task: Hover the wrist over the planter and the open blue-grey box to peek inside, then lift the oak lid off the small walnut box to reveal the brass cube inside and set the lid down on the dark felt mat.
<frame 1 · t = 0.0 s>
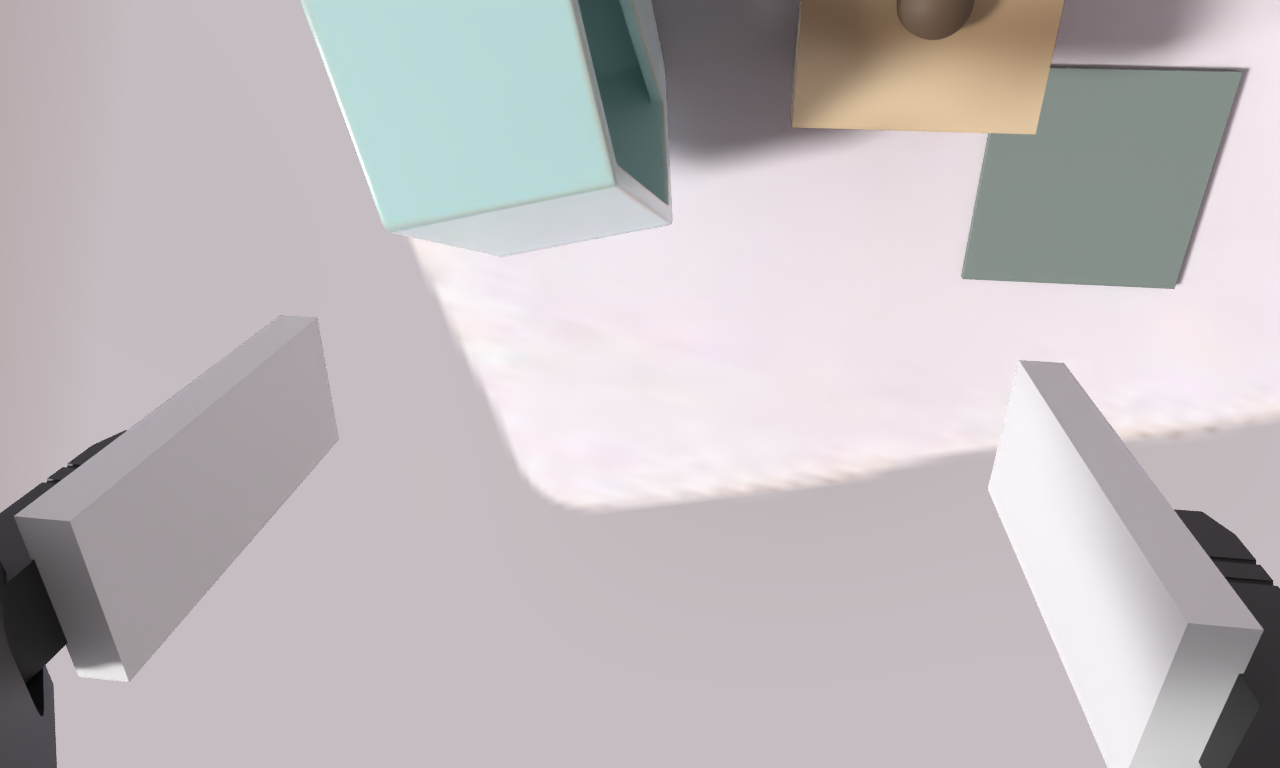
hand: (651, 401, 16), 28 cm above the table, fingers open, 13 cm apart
felt mat: (1089, 180, 40), on the table
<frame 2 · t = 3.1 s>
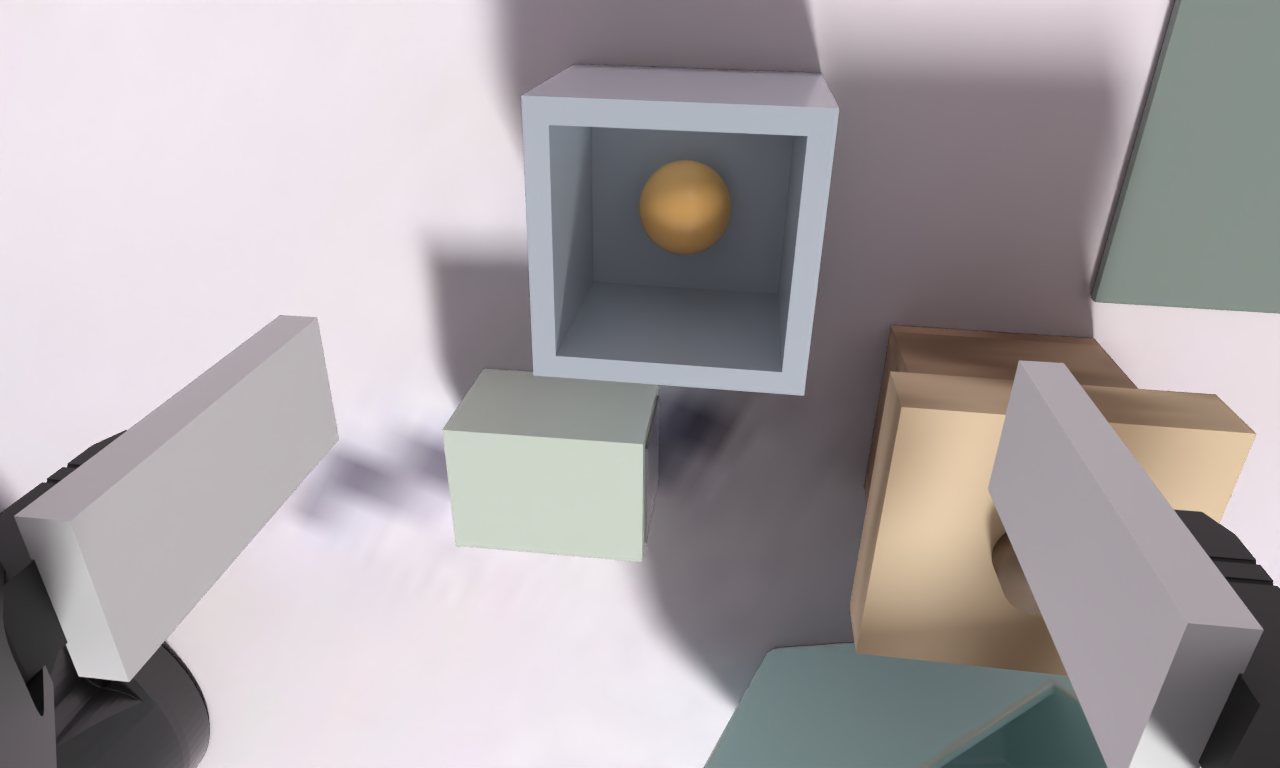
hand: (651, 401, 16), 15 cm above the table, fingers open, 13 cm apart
lid: (1014, 510, 26), point 6 cm above the table, touching walnut box
blue-grey box: (690, 190, 29), on the table
planter: (905, 697, 39), on the table
walnut box: (971, 417, 32), on the table
pale green block: (572, 427, 34), on the table
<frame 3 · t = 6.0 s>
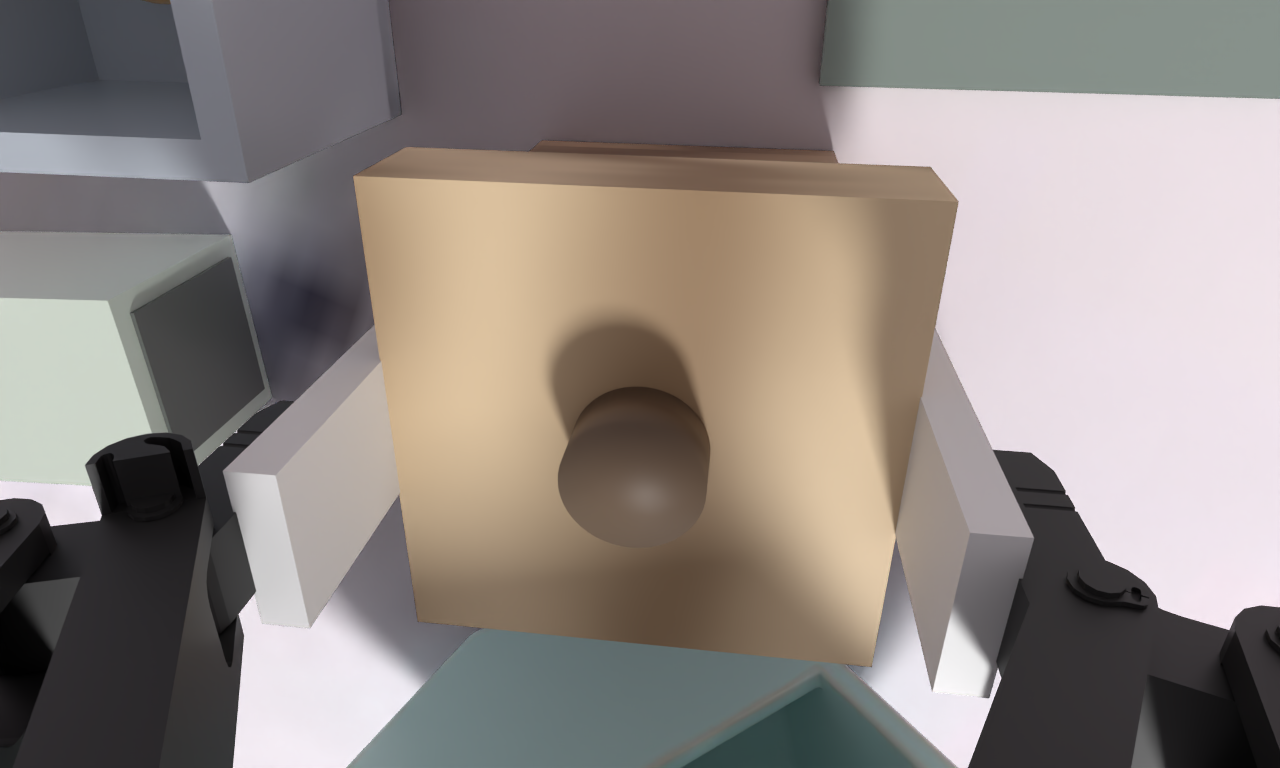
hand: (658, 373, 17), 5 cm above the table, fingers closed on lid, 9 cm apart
lid: (654, 389, 16), point 6 cm above the table, touching gripper, walnut box
planter: (666, 693, 29), on the table
walnut box: (680, 283, 22), on the table
pale green block: (142, 315, 24), on the table
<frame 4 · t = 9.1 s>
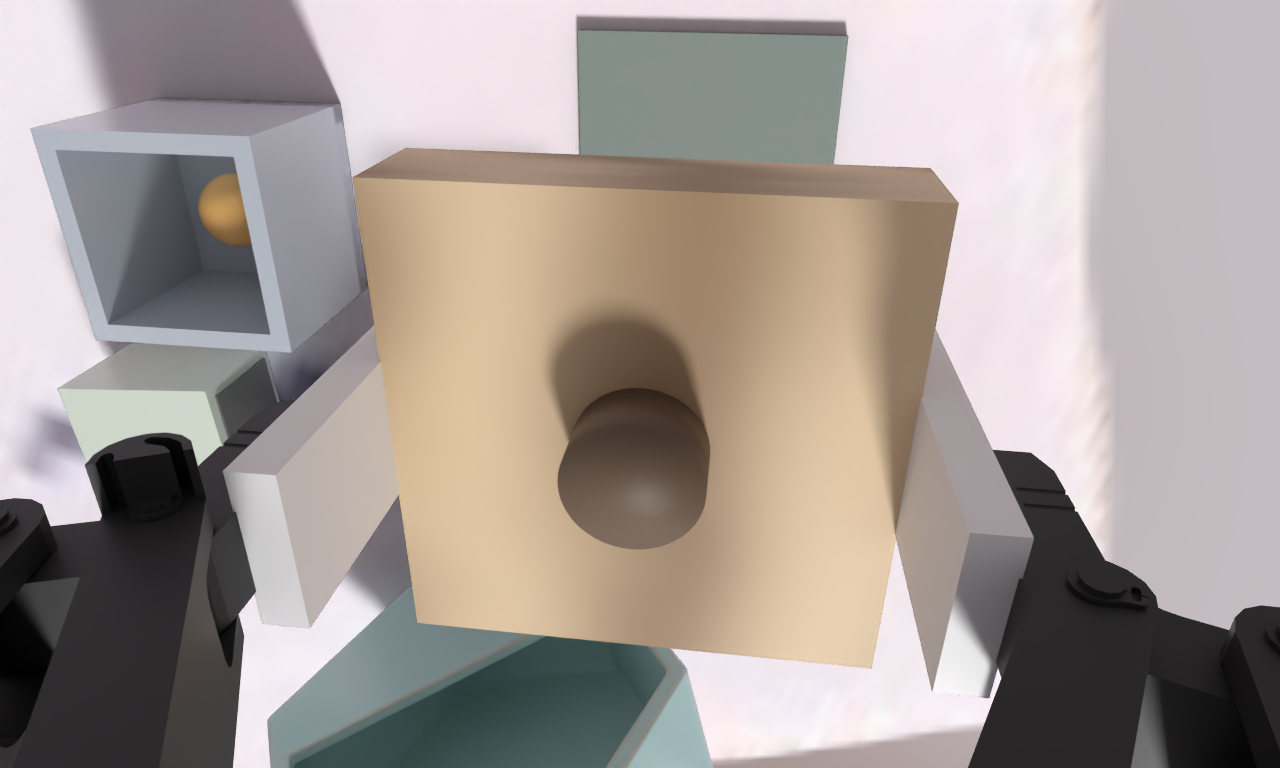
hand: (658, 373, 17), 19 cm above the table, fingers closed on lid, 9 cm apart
lid: (654, 391, 16), point 20 cm above the table, touching gripper
felt mat: (705, 167, 34), on the table
blue-grey box: (266, 196, 37), on the table
planter: (538, 618, 46), on the table
pale green block: (212, 388, 42), on the table
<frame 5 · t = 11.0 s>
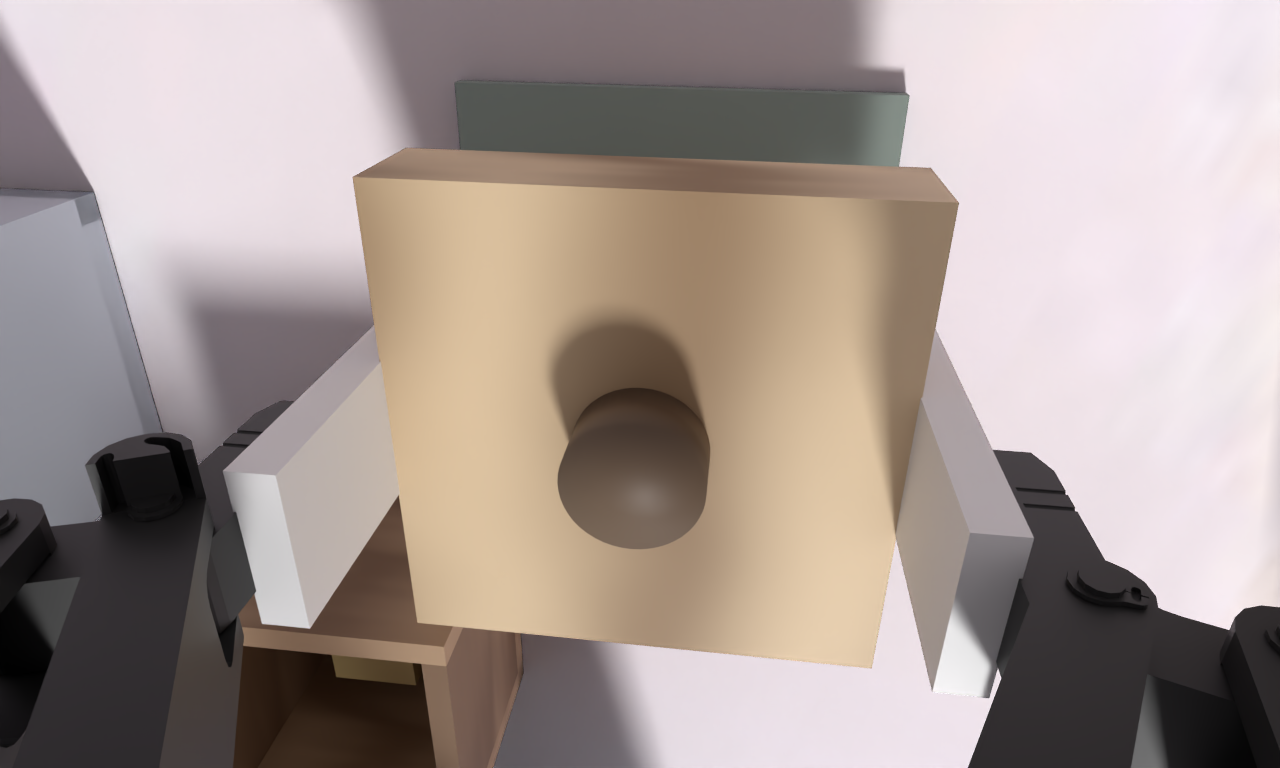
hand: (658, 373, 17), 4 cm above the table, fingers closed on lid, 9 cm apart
lid: (654, 390, 16), point 5 cm above the table, touching gripper
felt mat: (670, 296, 21), on the table
blue-grey box: (3, 326, 24), on the table
walnut box: (408, 580, 26), on the table
when the fingers open (2 cm above the table, at t = 12.4 s): lid drops 2 cm, resting on felt mat.
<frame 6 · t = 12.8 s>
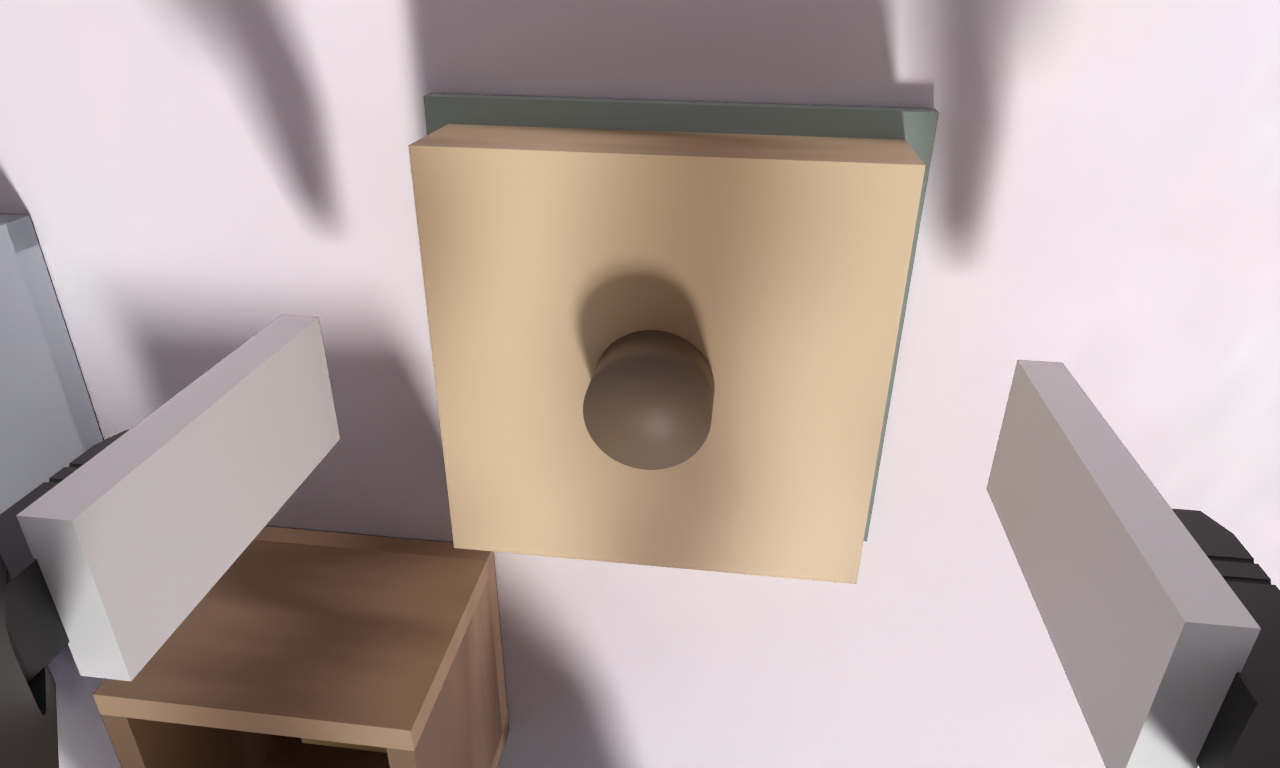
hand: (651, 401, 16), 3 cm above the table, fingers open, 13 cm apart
lid: (664, 340, 19), resting on felt mat
felt mat: (667, 332, 19), on the table
walnut box: (383, 632, 24), on the table
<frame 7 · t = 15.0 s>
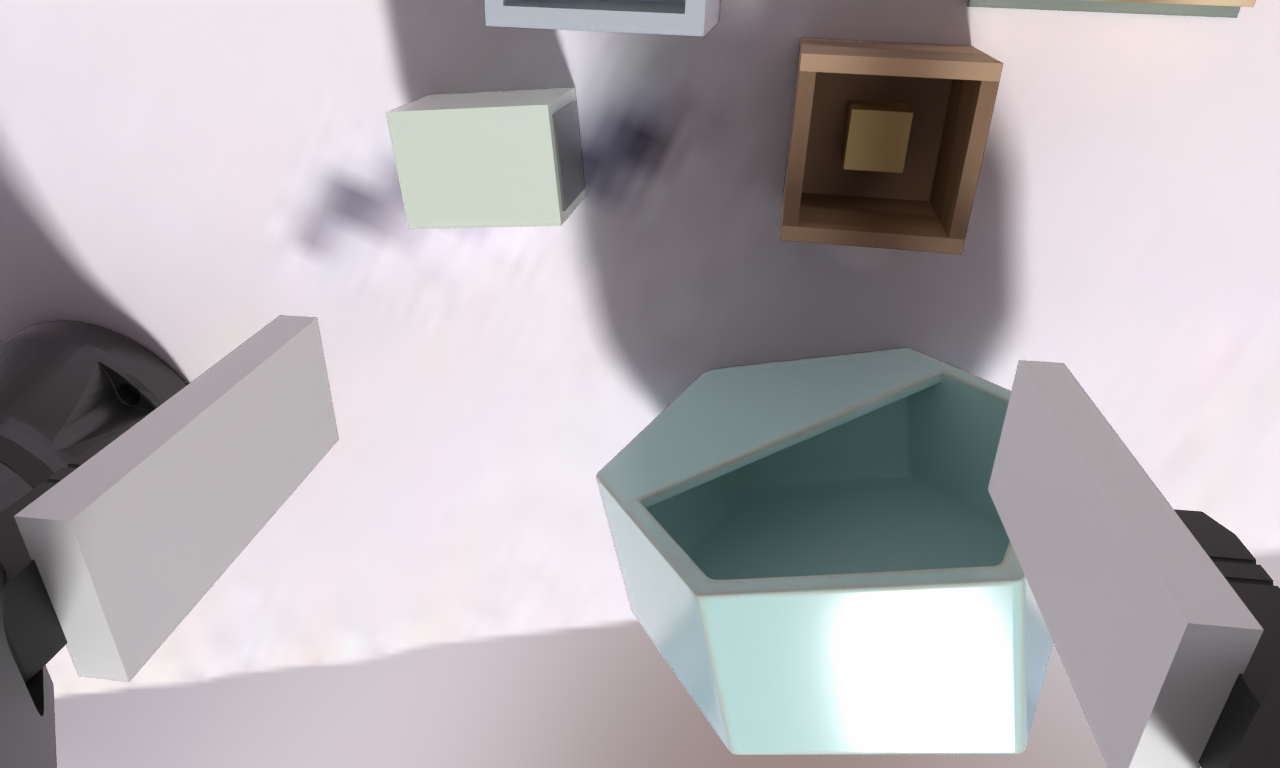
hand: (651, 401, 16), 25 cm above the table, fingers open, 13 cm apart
planter: (825, 420, 44), on the table
walnut box: (871, 127, 37), on the table
pale green block: (509, 145, 40), on the table
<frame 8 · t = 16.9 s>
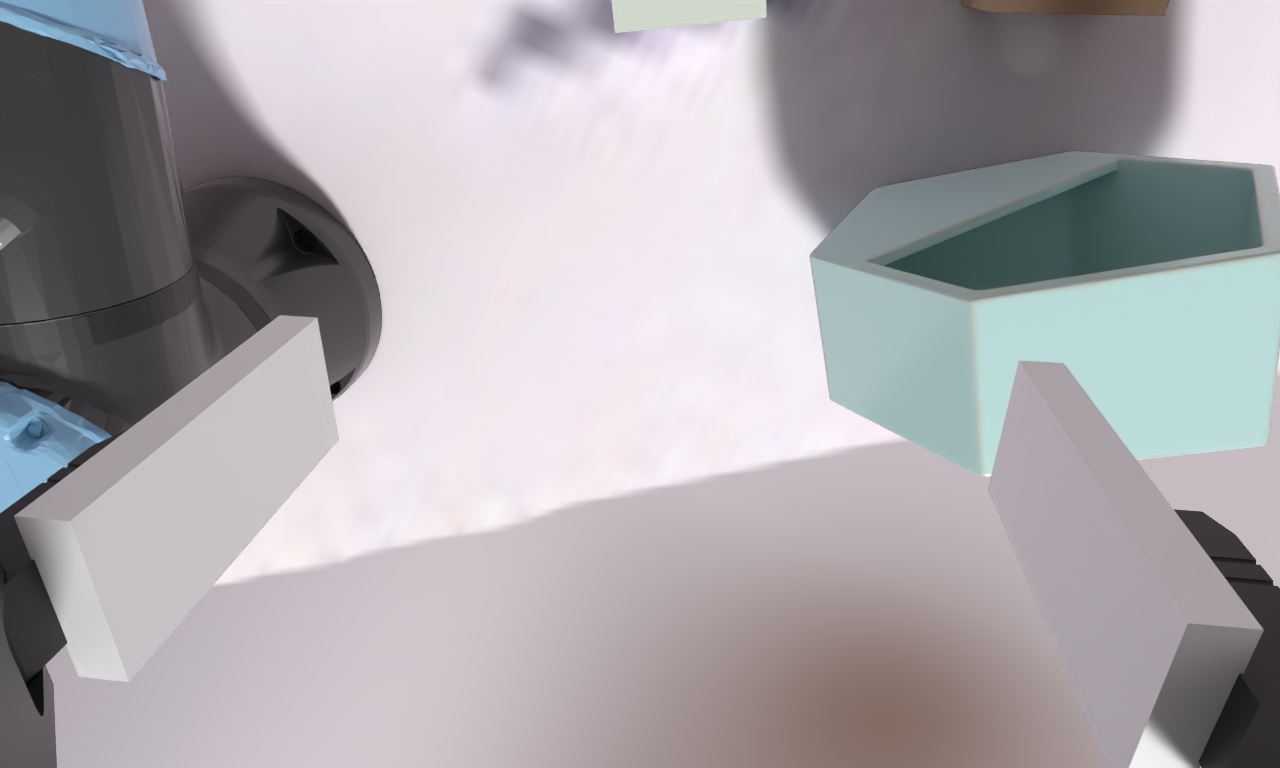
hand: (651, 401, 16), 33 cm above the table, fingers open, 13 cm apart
planter: (986, 234, 46), on the table
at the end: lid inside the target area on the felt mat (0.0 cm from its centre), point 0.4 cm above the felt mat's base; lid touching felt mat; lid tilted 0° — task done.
